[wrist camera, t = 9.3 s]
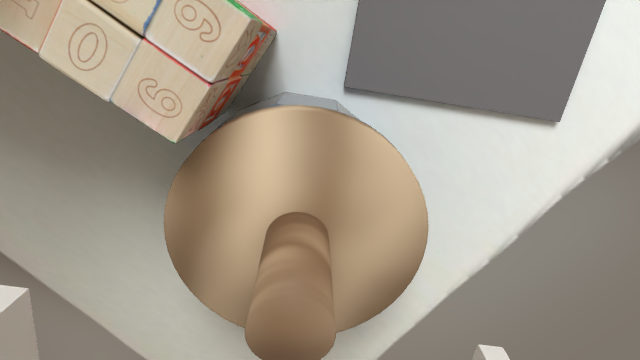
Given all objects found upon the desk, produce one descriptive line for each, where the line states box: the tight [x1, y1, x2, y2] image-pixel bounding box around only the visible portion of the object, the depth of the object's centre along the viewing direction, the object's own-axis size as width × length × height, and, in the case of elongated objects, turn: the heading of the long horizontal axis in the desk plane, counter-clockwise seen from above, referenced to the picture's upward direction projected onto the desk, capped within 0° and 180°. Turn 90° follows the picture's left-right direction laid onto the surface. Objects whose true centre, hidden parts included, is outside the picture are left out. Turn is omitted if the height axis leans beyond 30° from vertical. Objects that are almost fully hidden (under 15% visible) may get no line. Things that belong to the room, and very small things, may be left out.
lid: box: [164, 105, 428, 360], centre depth 17 cm, size 14×14×8 cm
